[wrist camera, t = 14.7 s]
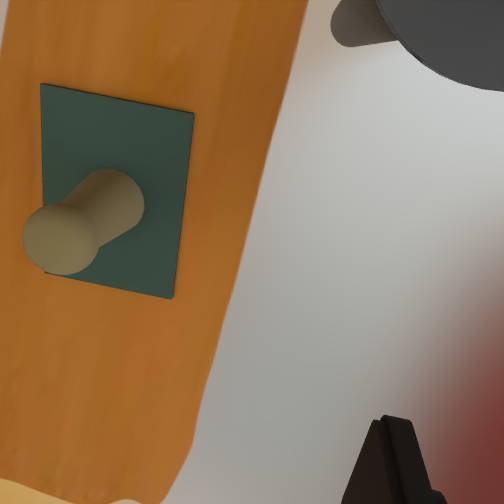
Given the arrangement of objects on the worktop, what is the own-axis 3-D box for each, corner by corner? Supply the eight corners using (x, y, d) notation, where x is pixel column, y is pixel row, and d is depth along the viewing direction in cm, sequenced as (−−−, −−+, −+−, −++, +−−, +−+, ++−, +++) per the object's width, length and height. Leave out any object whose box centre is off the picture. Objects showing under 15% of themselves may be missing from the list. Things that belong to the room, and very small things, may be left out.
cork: (135, 164, 39) (77, 202, 29) (150, 229, 41) (102, 285, 31) (71, 171, 40) (-7, 211, 30) (90, 234, 42) (23, 290, 32)
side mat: (194, 113, 37) (192, 114, 37) (172, 297, 45) (171, 299, 44) (43, 83, 37) (39, 83, 37) (46, 270, 45) (44, 273, 44)
